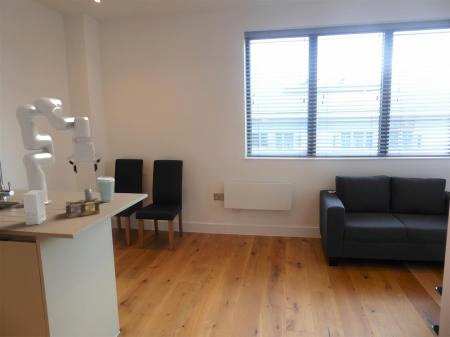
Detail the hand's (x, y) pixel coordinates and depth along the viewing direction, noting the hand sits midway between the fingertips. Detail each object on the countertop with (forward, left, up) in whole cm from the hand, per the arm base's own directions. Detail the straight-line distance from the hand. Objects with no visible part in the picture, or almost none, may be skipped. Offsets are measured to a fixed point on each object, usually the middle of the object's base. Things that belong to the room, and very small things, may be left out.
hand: (86, 172), depth 170 cm
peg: (0, -1, -20) cm, 20 cm away
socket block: (-3, -1, -22) cm, 23 cm away
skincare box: (-25, -6, -23) cm, 34 cm away
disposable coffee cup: (+11, +20, -23) cm, 32 cm away
